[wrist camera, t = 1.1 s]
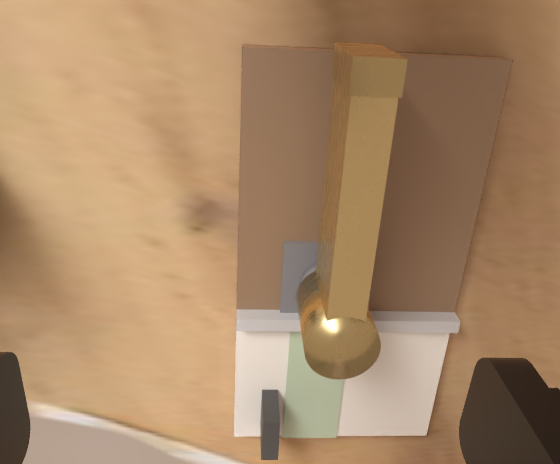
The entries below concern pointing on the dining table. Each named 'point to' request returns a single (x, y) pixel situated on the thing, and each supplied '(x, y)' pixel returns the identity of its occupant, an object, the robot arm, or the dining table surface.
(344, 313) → the swing bar
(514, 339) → the dining table surface
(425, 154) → the door mockup
